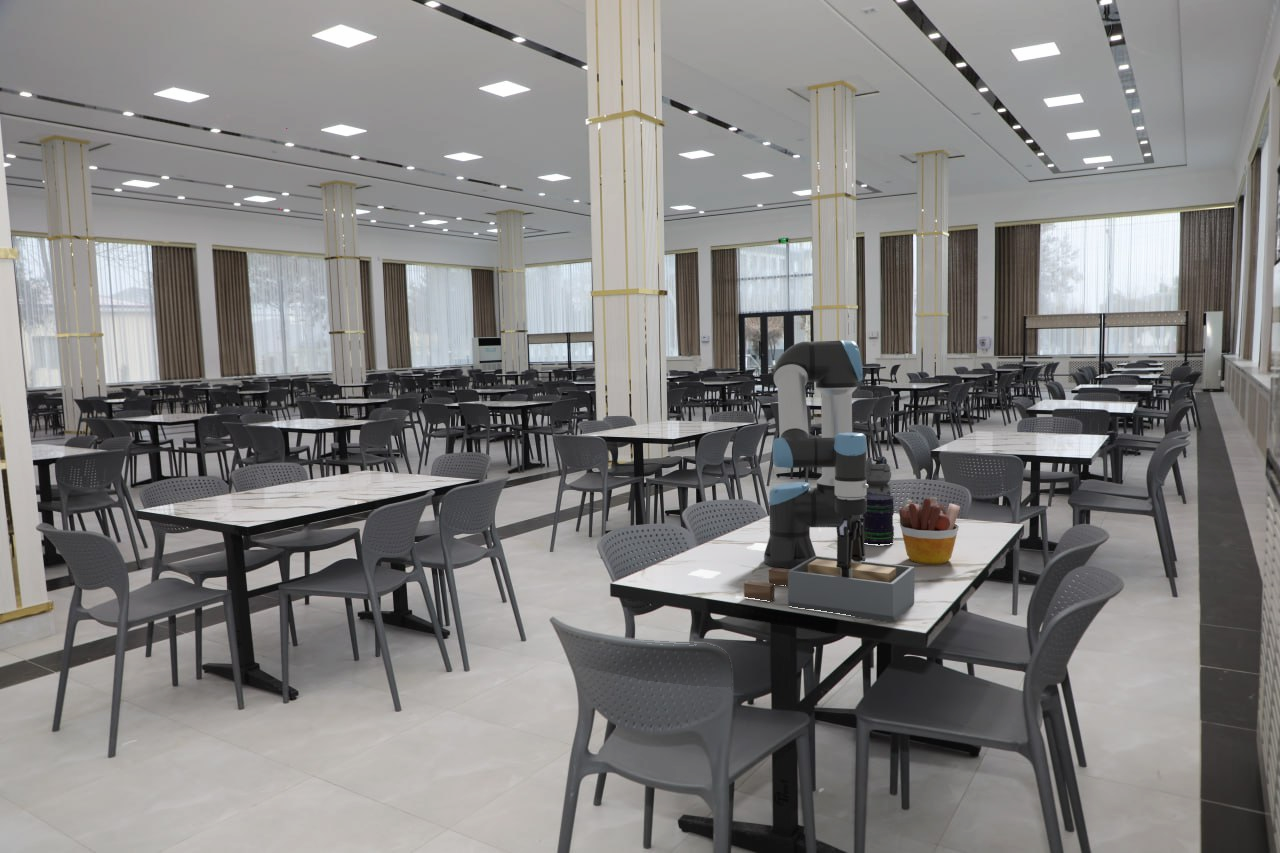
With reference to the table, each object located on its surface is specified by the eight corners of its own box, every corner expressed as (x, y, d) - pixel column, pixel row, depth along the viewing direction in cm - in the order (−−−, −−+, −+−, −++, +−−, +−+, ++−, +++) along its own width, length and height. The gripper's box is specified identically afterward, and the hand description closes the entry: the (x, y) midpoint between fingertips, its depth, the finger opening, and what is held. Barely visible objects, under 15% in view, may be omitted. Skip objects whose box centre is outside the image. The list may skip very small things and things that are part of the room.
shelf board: (896, 578, 207) (896, 567, 207) (888, 584, 202) (888, 573, 202) (816, 568, 218) (816, 558, 218) (807, 574, 213) (807, 564, 213)
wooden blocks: (769, 602, 215) (769, 586, 215) (744, 598, 219) (743, 583, 218) (797, 585, 230) (797, 570, 230) (773, 581, 234) (773, 567, 233)
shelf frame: (788, 607, 210) (787, 571, 210) (814, 589, 225) (814, 555, 224) (893, 622, 196) (893, 584, 196) (914, 602, 211) (914, 566, 210)
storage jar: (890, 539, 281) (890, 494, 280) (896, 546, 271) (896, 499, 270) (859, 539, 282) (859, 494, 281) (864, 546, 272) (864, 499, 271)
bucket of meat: (904, 551, 265) (904, 486, 263) (961, 554, 258) (961, 489, 256) (894, 566, 247) (894, 497, 245) (955, 571, 240) (956, 500, 238)
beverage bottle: (898, 525, 303) (898, 454, 301) (882, 532, 293) (881, 458, 291) (871, 522, 309) (871, 453, 307) (854, 528, 299) (853, 457, 297)
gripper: (852, 504, 198) (853, 602, 201) (878, 492, 214) (878, 583, 216) (821, 502, 203) (822, 598, 205) (848, 490, 218) (849, 579, 220)
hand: (851, 590), depth 210 cm, fingers closed on shelf board, 6 cm apart
